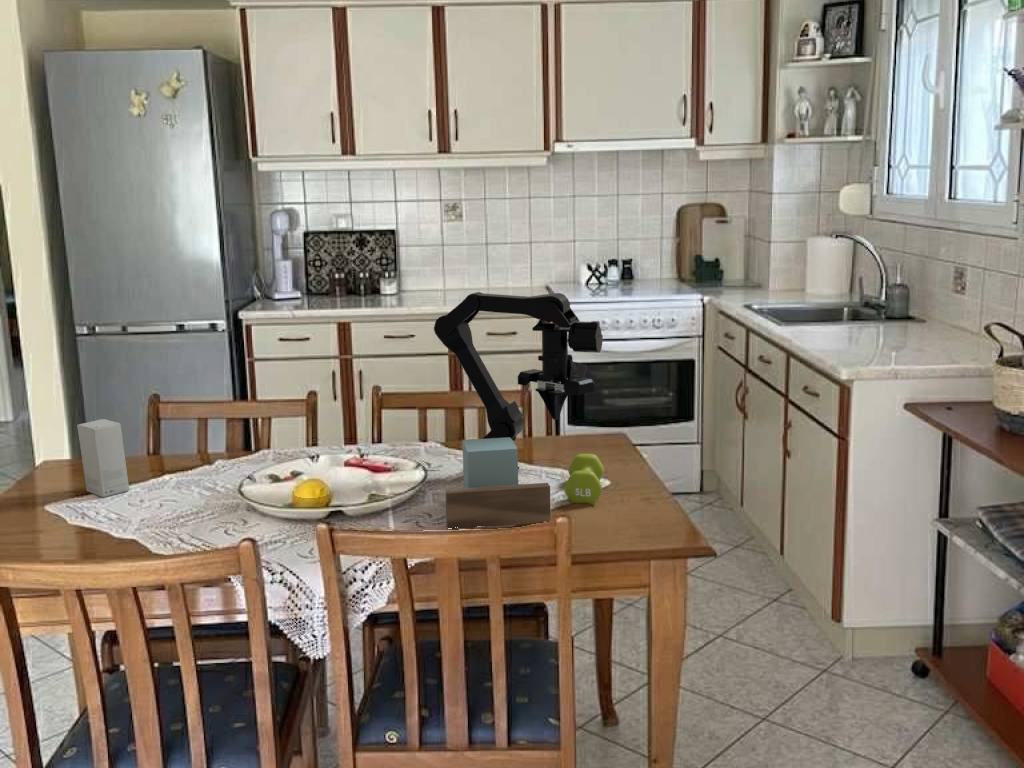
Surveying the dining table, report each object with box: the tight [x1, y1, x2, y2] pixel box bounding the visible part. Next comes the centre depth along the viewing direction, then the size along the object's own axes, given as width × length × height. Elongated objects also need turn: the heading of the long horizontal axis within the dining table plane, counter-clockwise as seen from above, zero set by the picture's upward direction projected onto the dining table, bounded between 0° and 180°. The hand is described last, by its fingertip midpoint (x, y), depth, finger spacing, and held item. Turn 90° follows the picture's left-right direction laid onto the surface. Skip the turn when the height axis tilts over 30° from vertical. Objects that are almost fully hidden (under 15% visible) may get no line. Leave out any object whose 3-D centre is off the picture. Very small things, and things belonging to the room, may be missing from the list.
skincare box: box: [76, 418, 130, 498], centre depth 218 cm, size 8×7×16 cm
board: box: [445, 482, 552, 530], centre depth 191 cm, size 2×20×8 cm, turn 99°
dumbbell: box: [563, 453, 605, 507], centre depth 210 cm, size 16×8×7 cm, turn 172°
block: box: [461, 437, 519, 488], centre depth 201 cm, size 9×10×13 cm
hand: (555, 419), depth 222 cm, fingers closed
